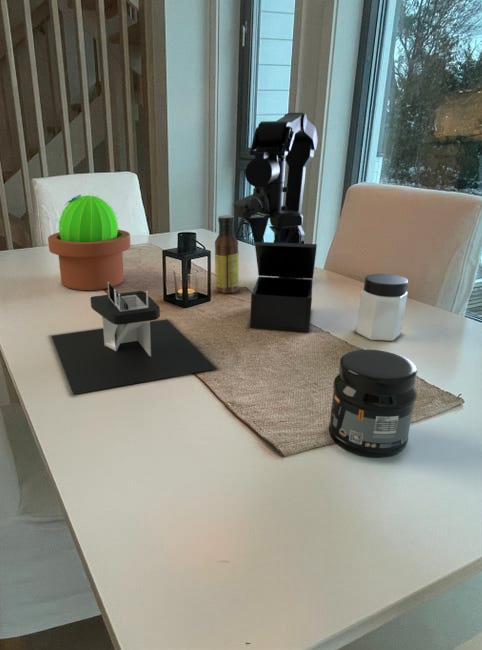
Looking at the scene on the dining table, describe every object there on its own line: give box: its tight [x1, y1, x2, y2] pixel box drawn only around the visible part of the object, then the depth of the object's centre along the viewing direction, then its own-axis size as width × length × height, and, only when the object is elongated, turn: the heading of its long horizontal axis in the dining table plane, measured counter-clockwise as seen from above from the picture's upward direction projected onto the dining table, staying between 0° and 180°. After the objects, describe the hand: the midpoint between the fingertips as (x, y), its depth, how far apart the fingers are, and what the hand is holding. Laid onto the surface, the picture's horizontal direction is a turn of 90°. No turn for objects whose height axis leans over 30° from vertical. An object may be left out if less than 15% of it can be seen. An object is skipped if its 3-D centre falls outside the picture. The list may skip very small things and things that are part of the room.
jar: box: [355, 273, 409, 342], centre depth 106 cm, size 9×8×12 cm
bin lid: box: [254, 241, 318, 280], centre depth 113 cm, size 15×13×1 cm
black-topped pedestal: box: [51, 282, 217, 395], centre depth 99 cm, size 28×26×13 cm
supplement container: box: [328, 348, 418, 460], centre depth 70 cm, size 10×10×12 cm
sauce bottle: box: [214, 214, 240, 294], centre depth 134 cm, size 6×6×20 cm
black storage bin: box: [249, 275, 314, 334], centre depth 116 cm, size 15×13×8 cm
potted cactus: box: [47, 193, 131, 291], centre depth 143 cm, size 22×22×25 cm
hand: (267, 251), depth 120 cm, fingers open, 9 cm apart
